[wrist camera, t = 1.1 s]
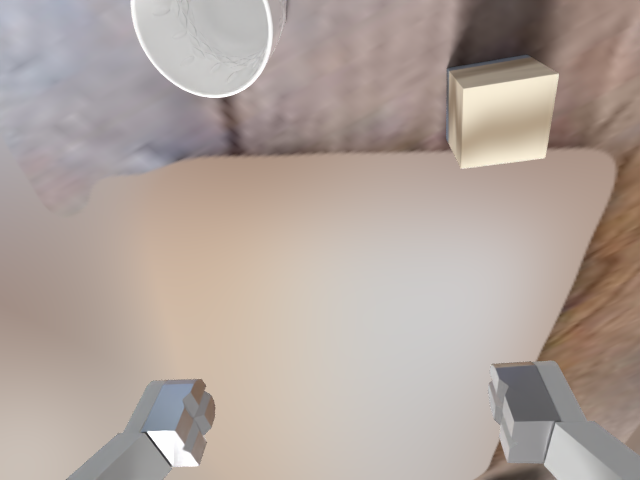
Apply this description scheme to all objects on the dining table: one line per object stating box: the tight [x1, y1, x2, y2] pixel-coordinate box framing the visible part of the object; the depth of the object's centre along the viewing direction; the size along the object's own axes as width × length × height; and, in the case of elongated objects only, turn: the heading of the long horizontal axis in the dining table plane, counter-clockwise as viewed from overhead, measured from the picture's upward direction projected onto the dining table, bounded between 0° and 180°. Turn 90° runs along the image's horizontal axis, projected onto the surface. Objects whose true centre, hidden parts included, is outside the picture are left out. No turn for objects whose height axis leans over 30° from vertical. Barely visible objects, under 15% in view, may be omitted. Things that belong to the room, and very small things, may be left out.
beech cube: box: [446, 55, 559, 169], centre depth 30 cm, size 6×6×6 cm
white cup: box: [131, 0, 287, 98], centre depth 26 cm, size 8×8×10 cm
